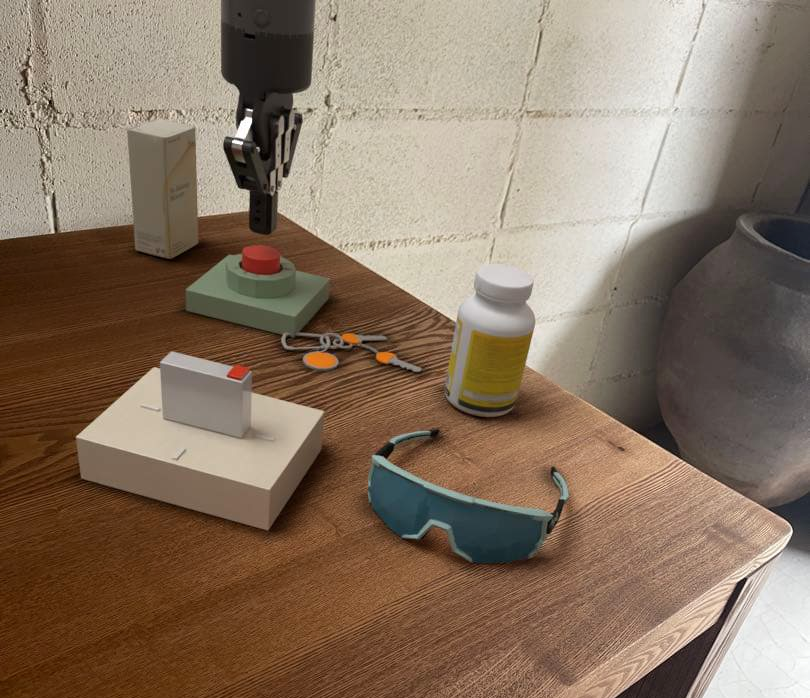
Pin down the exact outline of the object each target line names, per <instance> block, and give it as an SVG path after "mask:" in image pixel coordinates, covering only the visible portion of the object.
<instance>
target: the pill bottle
mask: <svg viewBox="0 0 810 698" xmlns="http://www.w3.org/2000/svg"><path fill="white" fill-rule="evenodd" d="M534 281H535V280H534V277H533V276H532V274H530V273H529V272H528V271H525V270H523V269H521V268H518V267H516V266H513V265H508V264H503V263H487V264H482V265H480V266H479V267H478V268H477V269H476V273H475V276H474V280H473V289H474V291H475V292H474V293H471V294H470V295H468V296H467V297H465V298H464V299H463V300H462V302H461V303H460V305H459V306H458V311H457V315H456V321H455V326H454V333H453V338H452V343H451V350H450V355H449V361H448V367H447V372H446V377H445V378H446V379H445V384H444V394H445V398H446V399H447V401H448V402H449V404H451V405H452V406H453V407H454V408H456V409H457V410H459V411H461V412H462V413H463V412H464V413H466V414H468V415H471V416H476V417H483V418H495V417H500V416H504V415H506V414H508V413H510V412H511V411H512V410H513V409H514V407H515V406H516V404H517V401H518V396H519V392H520V389H521V385H522V381H523V376H524V372H525V367H526V364H527V360H528V356H529V352H530V347H531V343H532V338H533V334H534V330H535V327H536V316H535V313H534V311H533V309H532V307H530V305H529V304H528V303H527V301H528V300H529V299H530V298H531V296H532V292H533V288H534Z"/></svg>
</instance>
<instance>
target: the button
mask: <svg viewBox="0 0 810 698" xmlns="http://www.w3.org/2000/svg"><path fill="white" fill-rule="evenodd" d="M241 254H242V269H243V270H244V271H246V272H249V273H253V274H257V275H272V274H276V273H279V272H280V256H281V252H280V251H279V249H276V248H274V247H272V246H268V245H263V244H262V245H261V244H259V245H258V244H254V245H248V246H246V247H244V248H243V249H242V251H241Z"/></svg>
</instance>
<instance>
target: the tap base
mask: <svg viewBox="0 0 810 698" xmlns="http://www.w3.org/2000/svg"><path fill="white" fill-rule="evenodd" d="M324 424H325V410H322V409H318V408H314V407H310V406H307V405H302V404H299V403H294V402H290V401H287V400H284V399H280V398H275V397H272V396H268V395H264V394H259V393H256V392H252V402H251V427H250V428H249V429H248V431H247V432H246V433H245V434H244V436H243V437H242V438H238V437H234V436H230V435H226V434H222V433H219V432H215V431H211V430H207V429H203V428H199V427H195V426H191V425H187V424H184V423H180V422H176V421H172V420H168V419H164V418H163V413H162V394H161V375H160V367H155V366H153V367H152V368H151V369H150V370H149V371H147V372H146V373H145V374H144V375H143V376H142V377H141V378H139V380H137V382H135V383H134V384H133V385H132V386H131V387H130V388H129V389H128V390H126V391H125V392H124V393H123V394H122V395H121V396H119V398H118V399H116V400H115V401H114V402H113V403H112V404H110V405H109V406H108V407H107V408H106V409H105V410H104V411H103V412H102V413H100V415H98V416H97V417H96V418H95V419H94V420H93V421H91V423H89V425H87V426H86V427H85V428H84V429H82V431H81V432H80V433H78V434H77V435H76V436H75V443H76V450H77V456H78V457H77V458H78V465H79V466H78V467H79V472H80V479H82V480H86V481H89V482H91V483H96V484H99V485H103V486H107V487H109V488H114V489H117V490H121V491H124V492H128V493H130V494H131V493H132V494H135V495H139V496H142V497H146V498H149V499H153V500H157V501H160V502H163V503H167V504H171V505H174V506H178V507H180V508H181V507H182V508H185V509H189V510H193V511H196V512H200V513H203V514H207V515H211V516H214V517H218V518H221V519H225V520H229V521H232V522H234V523H235V522H236V523H238V524H243V525H246V526H249V527H254V528H256V529H257V528H258V529H260V530H264V531H269V530H270V529H271V527H272V525H274V522H276V519H277V518H278V516H279V515H280V514H281V512H282V510H283V509H284V507H285V506H286V504H287V503H288V501H289V500H290V498H291V497H292V495H293V494H294V492H295V491H296V489H297V487H298V486H299V484H300V483H301V481H302V480H303V478H305V476H306V474H307V472H308V471H309V469H311V466H312V465H313V463H314V461H315V460H316V459H317V457H318V455H319V454H320V452H321V451H322V450H323V449H322V447H323V438H324V437H323V436H324Z"/></svg>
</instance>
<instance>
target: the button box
mask: <svg viewBox="0 0 810 698" xmlns="http://www.w3.org/2000/svg"><path fill="white" fill-rule="evenodd" d="M330 287H331V278H330V277H326V276H321V275H315V274H313V273H308V272H304V271H300V270H296V267H295V264H294V263H293V262H291V261H290V260H288V259H287V258H284V257H283V256H282V255H280V272H279V273H276V274H272V275H257V274H253V273H249V272H246V271H244V270H243V269H242V253H238V254H228V255H227V256H225V257H224V258H223V259H222V260H220V261H219V262H218V263H217V264H215V265H214V266H213V267H212V268H210V269H209V270H208V271H207V272H205V273H204V274H202V276H200V277H199V278H198V279H197V280H196V281H194V282H193V283H191V285H190V284H189V286H188V287H187V288H185V311H186V312H189V313H194V314H198V315H201V316H205V317H210V318H212V319H217V320H221V321H225V322H229V323H233V324H237V325H240V326H245V327H249V328H253V329H257V330H262V331H265V332H269V333H273V334H277V335H281V336H283V334H284V333H289V334H291V335H289V336H288V337H290V338H296V336H295V333H296V332H298V333H301V331H302V330H303V328H304V327H305V326H306V325H307V324H309V321H310V320H312V319H313V318H314V316H315V315H316V314H317V312H319V310H320V309H321V308H322V307H323V306H324V305H325V303H326V302H327V301H328V300H329V299H330Z"/></svg>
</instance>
